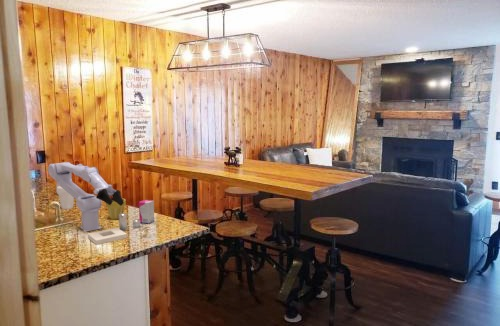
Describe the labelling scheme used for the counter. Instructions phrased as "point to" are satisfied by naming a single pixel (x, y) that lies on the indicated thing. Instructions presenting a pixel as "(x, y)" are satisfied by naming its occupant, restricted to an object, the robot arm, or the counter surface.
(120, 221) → the long steel pin
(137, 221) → the short steel pin
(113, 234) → the hole board
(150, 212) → the supplement box
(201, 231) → the counter surface
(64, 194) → the foam cup
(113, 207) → the plant pot
